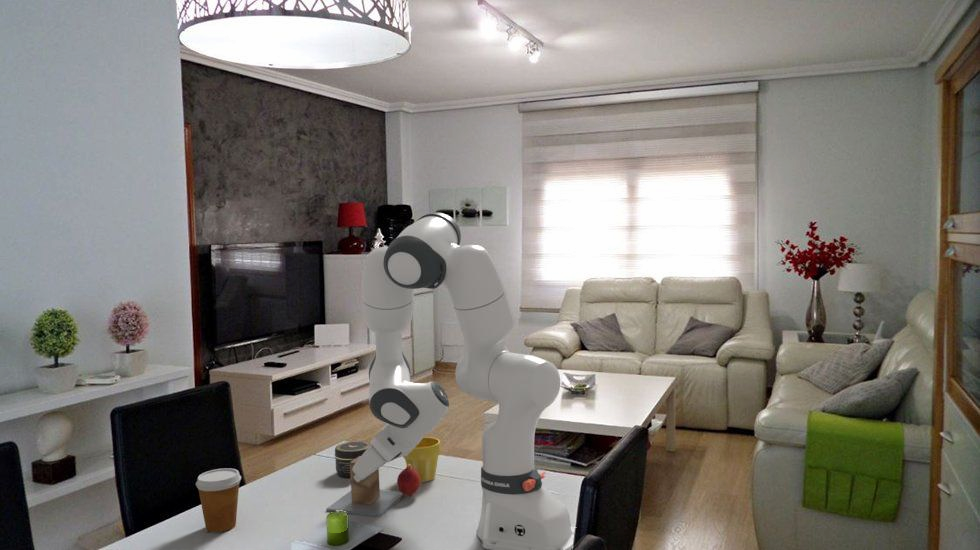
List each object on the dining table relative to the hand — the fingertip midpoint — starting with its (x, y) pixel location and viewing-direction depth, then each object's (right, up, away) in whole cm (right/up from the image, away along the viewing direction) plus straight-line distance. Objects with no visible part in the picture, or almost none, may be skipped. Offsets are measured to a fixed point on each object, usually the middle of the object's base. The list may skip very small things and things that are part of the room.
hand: (363, 474), depth 166 cm
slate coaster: (+1, -7, 0) cm, 7 cm away
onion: (+11, -7, +4) cm, 13 cm away
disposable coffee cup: (-30, -9, -12) cm, 33 cm away
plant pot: (+13, -6, +16) cm, 22 cm away
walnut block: (+1, -6, 0) cm, 6 cm away
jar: (-6, -6, +22) cm, 24 cm away
